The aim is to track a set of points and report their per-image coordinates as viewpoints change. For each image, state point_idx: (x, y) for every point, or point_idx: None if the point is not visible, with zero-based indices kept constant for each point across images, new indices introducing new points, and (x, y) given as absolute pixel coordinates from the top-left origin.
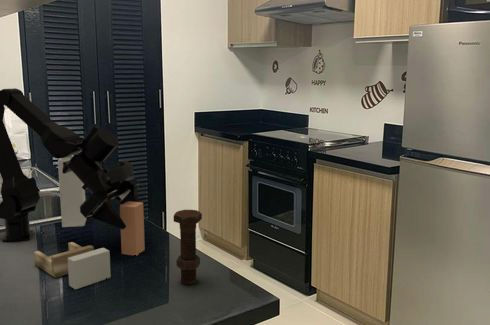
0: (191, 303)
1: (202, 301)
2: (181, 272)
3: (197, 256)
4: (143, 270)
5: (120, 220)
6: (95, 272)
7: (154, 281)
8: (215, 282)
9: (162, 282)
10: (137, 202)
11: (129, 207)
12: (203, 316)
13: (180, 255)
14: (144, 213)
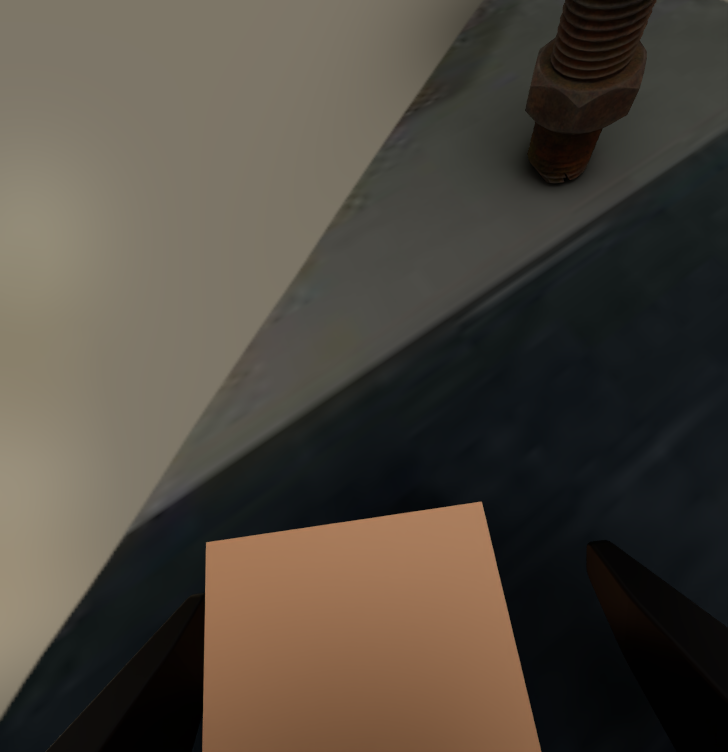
0: (683, 78)
1: (645, 66)
2: (597, 135)
3: (554, 42)
4: (580, 363)
5: (693, 607)
6: None
7: (638, 257)
8: (501, 110)
9: (622, 229)
10: (222, 652)
11: (509, 621)
12: (723, 19)
13: (594, 91)
14: (184, 605)
